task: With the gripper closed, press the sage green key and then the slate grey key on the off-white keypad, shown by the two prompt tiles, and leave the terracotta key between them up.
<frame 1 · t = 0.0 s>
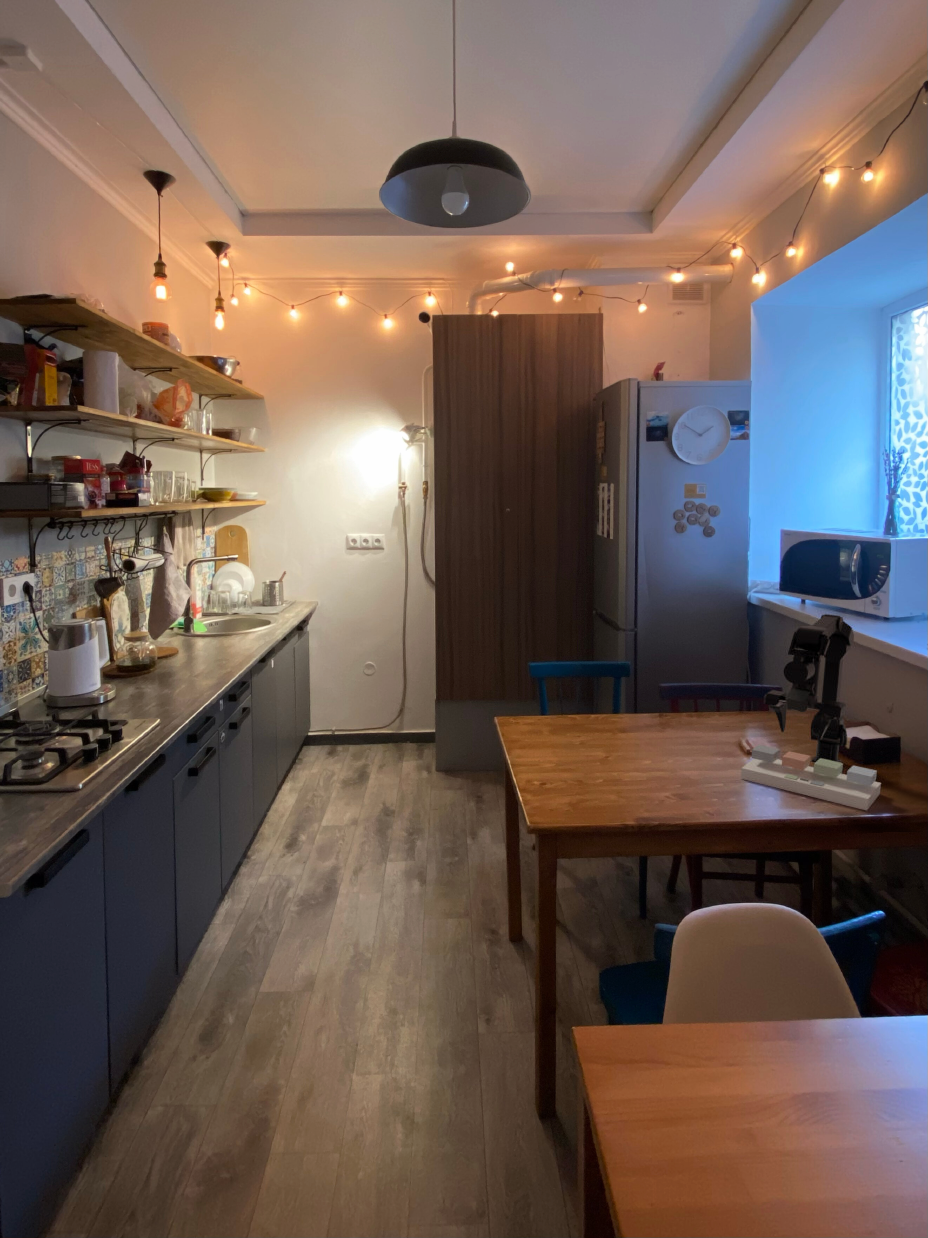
hand: (801, 735, 200), 14 cm above the table, tool pointing down, fingers open, 9 cm apart
key terracotta: (796, 760, 207), point 6 cm above the table, slide at 0.0 cm
keypad base: (808, 786, 204), on the table
key slate: (765, 753, 212), point 6 cm above the table, slide at 0.0 cm
key sage: (828, 767, 201), point 6 cm above the table, slide at 0.0 cm
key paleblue: (861, 775, 196), point 6 cm above the table, slide at 0.0 cm
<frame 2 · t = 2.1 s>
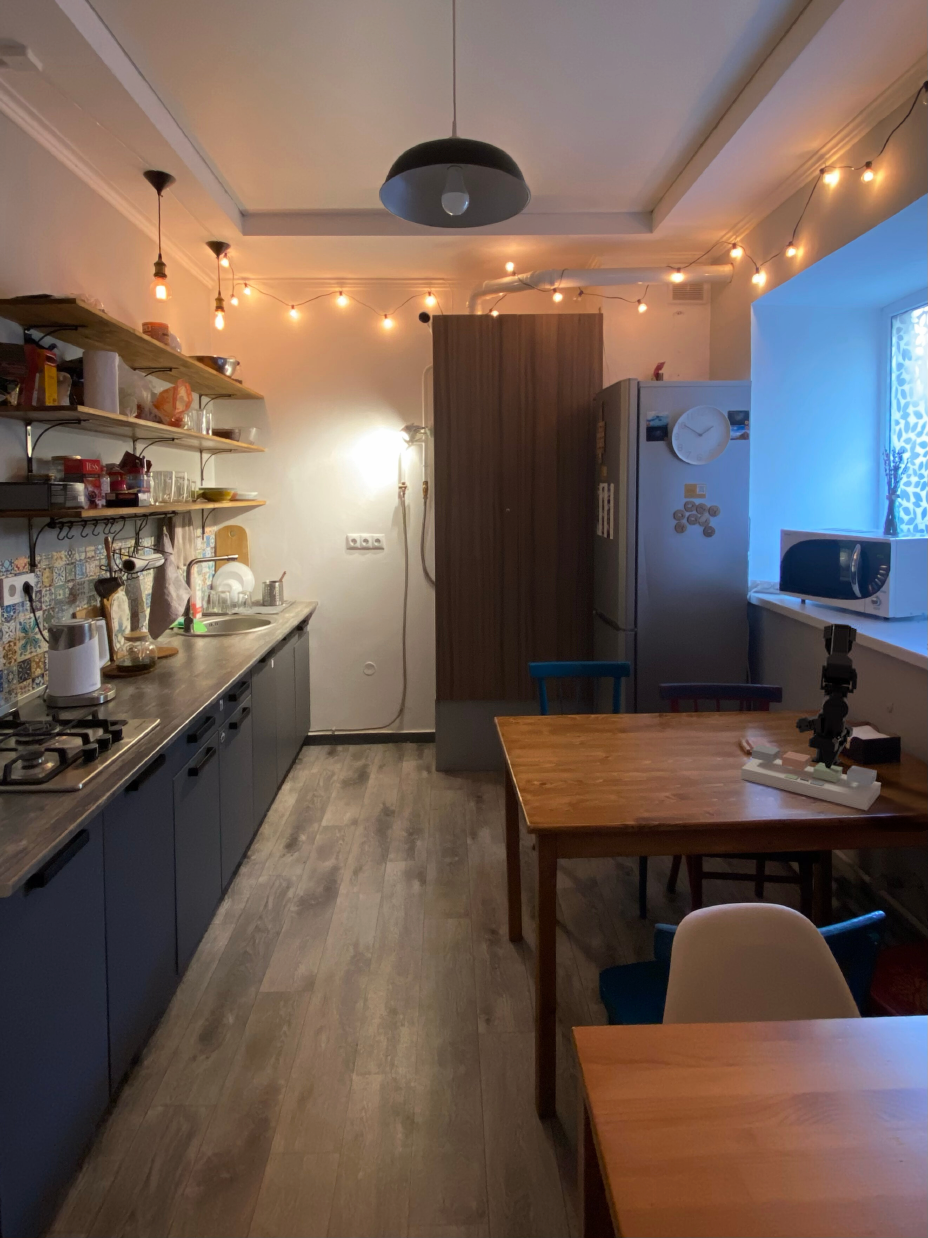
hand: (828, 767, 202), 6 cm above the table, tool pointing down, fingers closed, pressing on key sage
key sage: (827, 772, 202), point 5 cm above the table, slide at 1.2 cm, touching gripper
everything else where it was.
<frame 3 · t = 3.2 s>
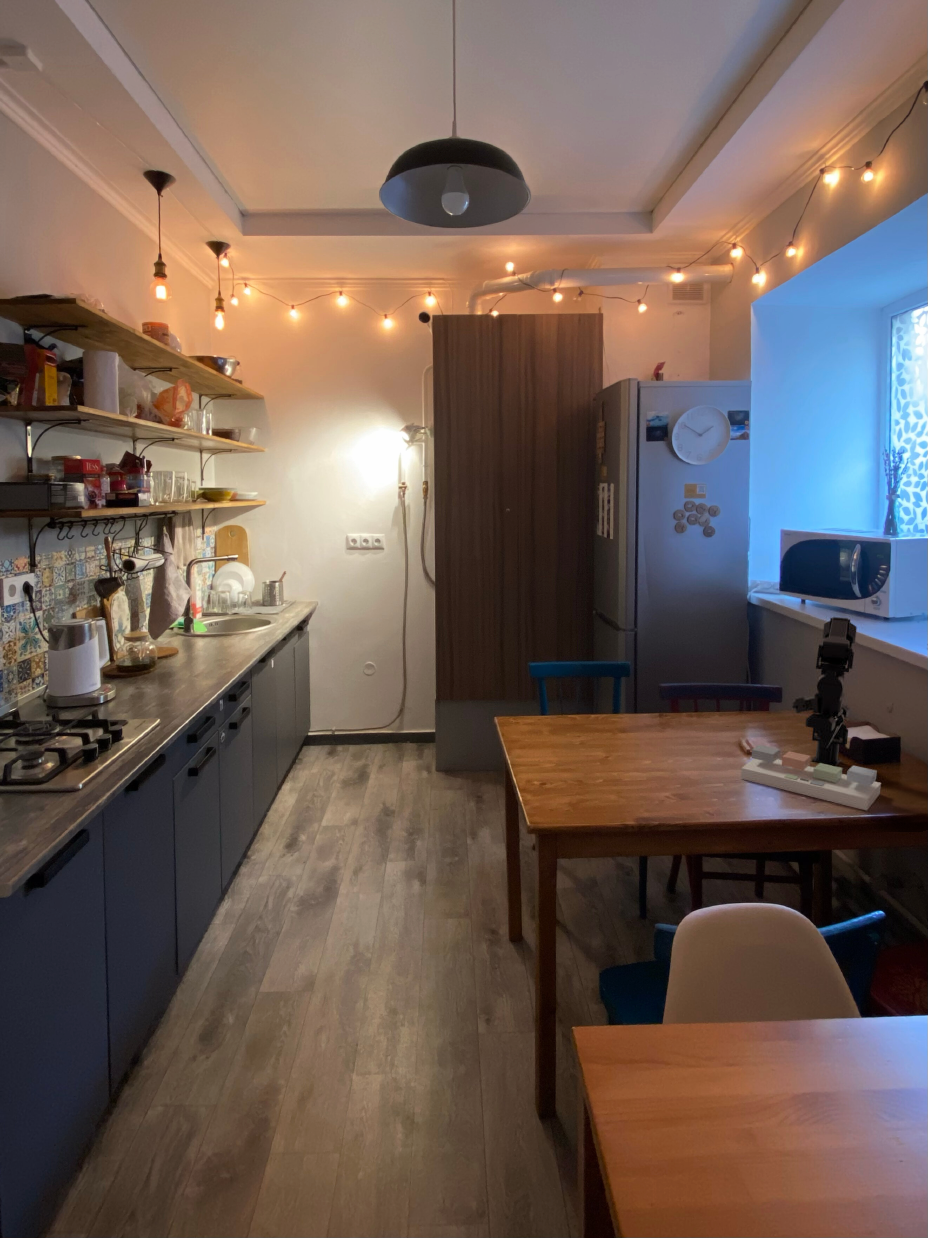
hand: (824, 747, 201), 11 cm above the table, tool pointing down, fingers closed
key sage: (827, 772, 202), point 4 cm above the table, slide at 1.3 cm
everything else where it was.
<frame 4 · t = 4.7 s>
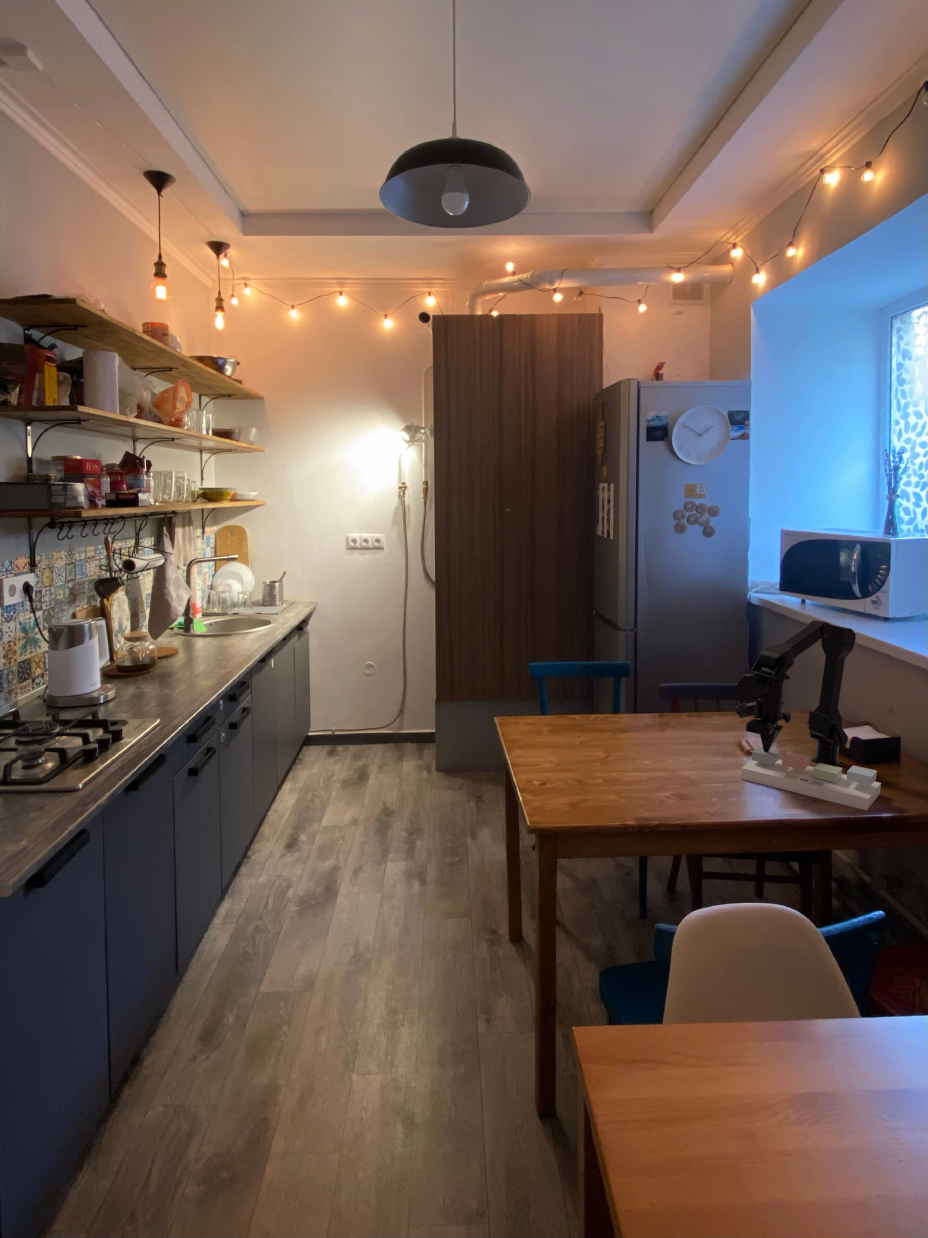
hand: (766, 751, 211), 6 cm above the table, tool pointing down, fingers closed, pressing on key slate
key slate: (765, 755, 212), point 5 cm above the table, slide at 0.6 cm, touching gripper
everything else where it was.
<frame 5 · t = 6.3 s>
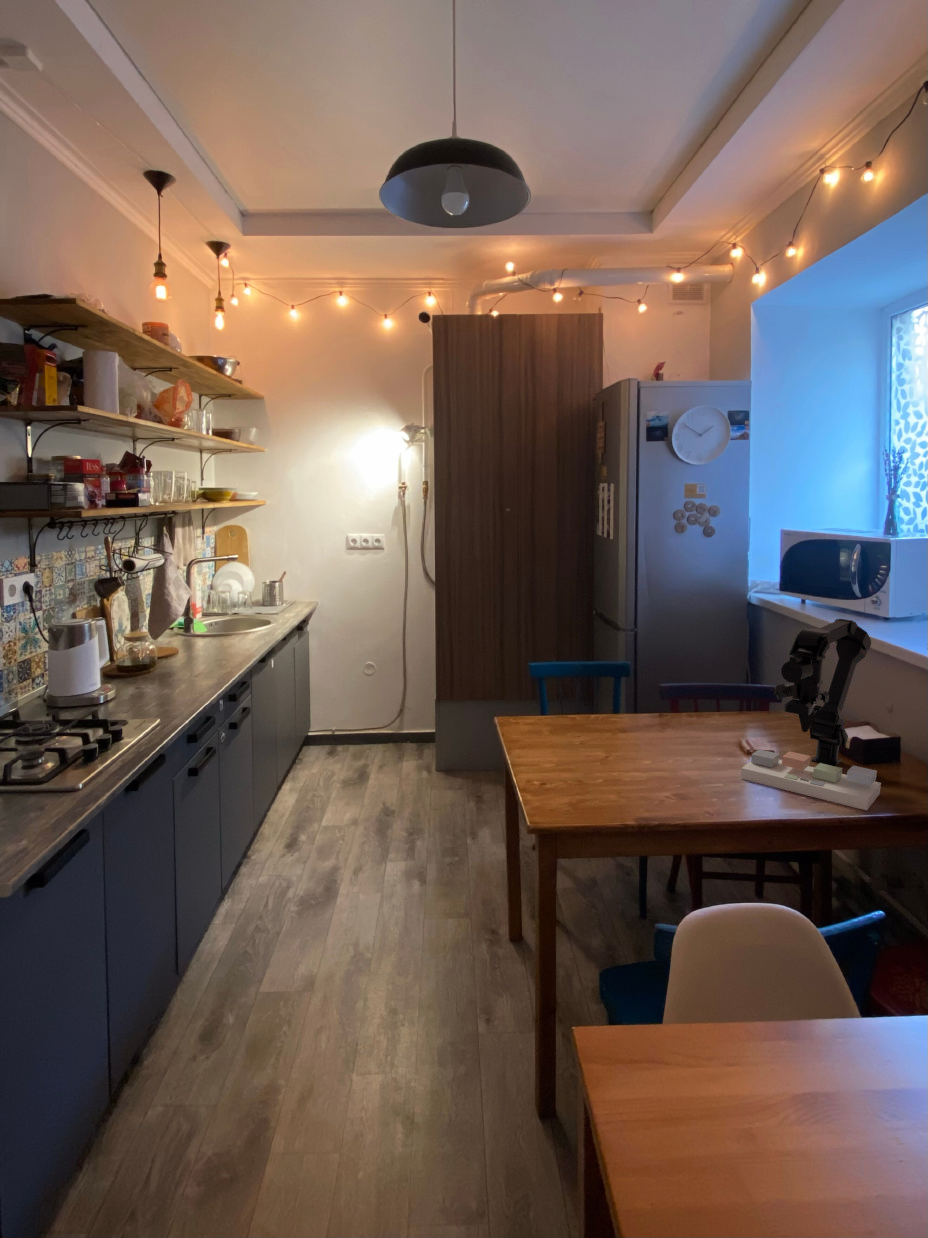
hand: (804, 731, 212), 12 cm above the table, tool pointing down, fingers closed
key slate: (765, 758, 212), point 4 cm above the table, slide at 1.3 cm
everything else where it was.
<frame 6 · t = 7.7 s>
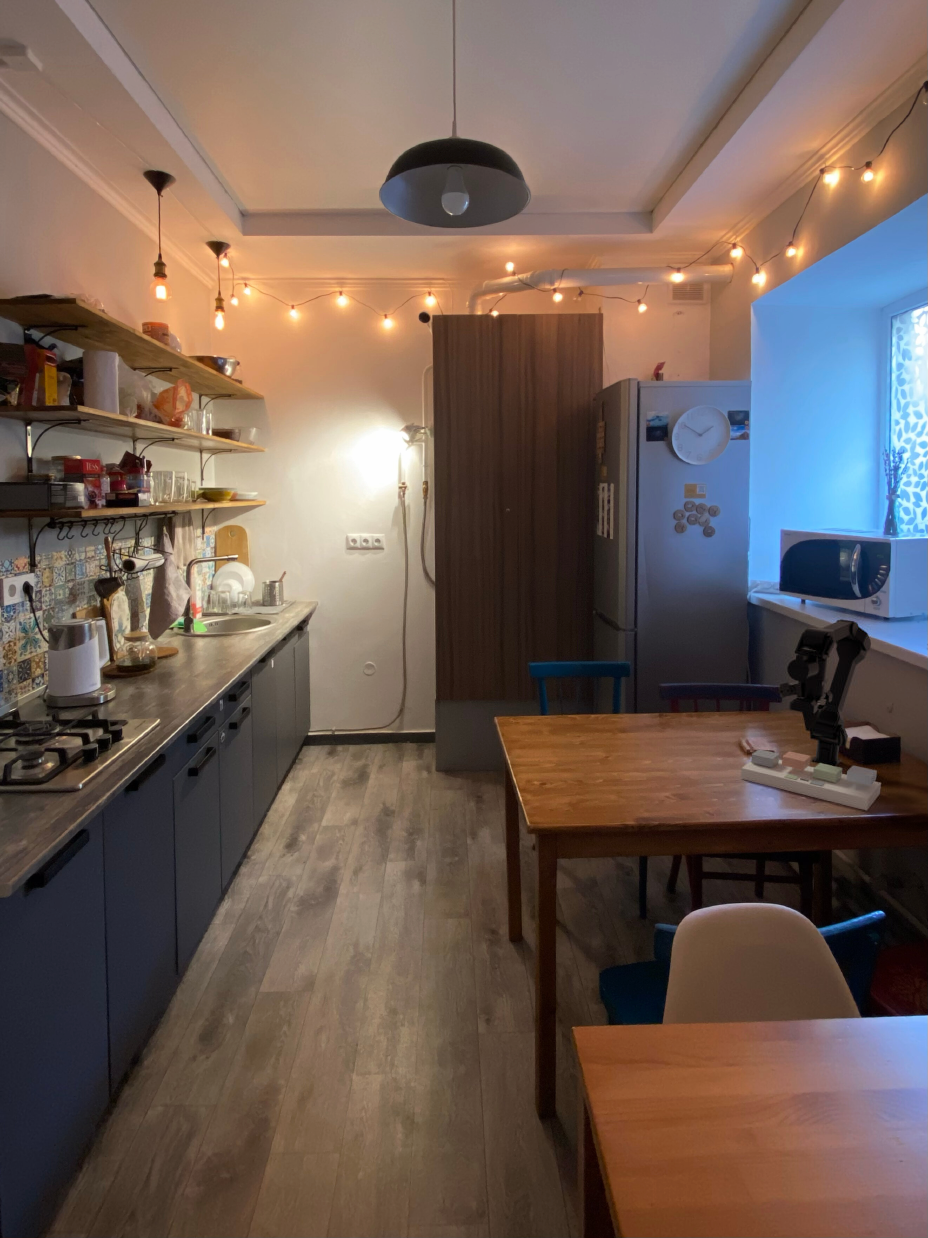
hand: (808, 730, 212), 12 cm above the table, tool pointing down, fingers closed
nothing on the table moved.
at the end: key sage slide at 1.3 cm; key slate slide at 1.3 cm; key terracotta slide at 0.0 cm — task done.
